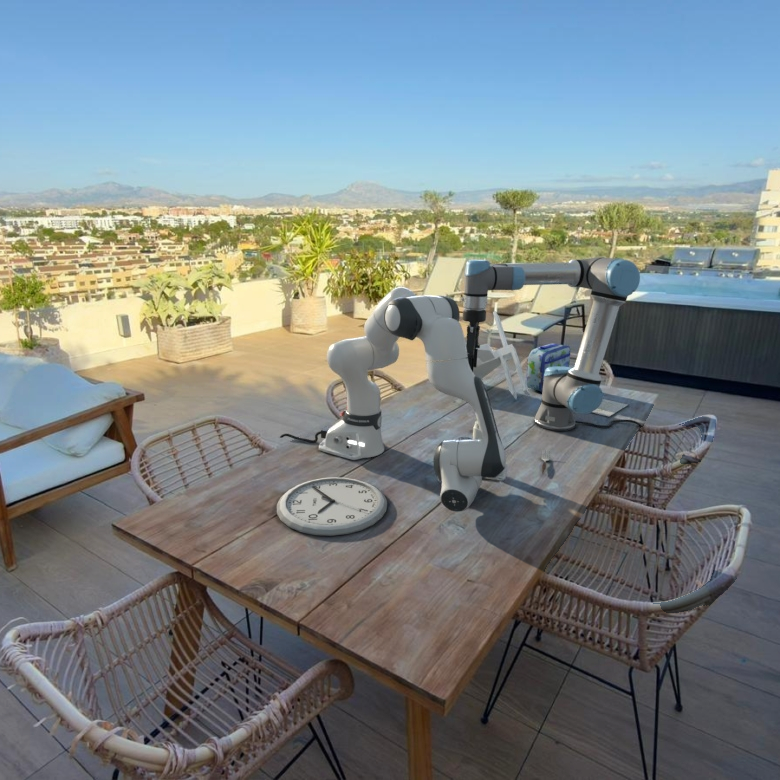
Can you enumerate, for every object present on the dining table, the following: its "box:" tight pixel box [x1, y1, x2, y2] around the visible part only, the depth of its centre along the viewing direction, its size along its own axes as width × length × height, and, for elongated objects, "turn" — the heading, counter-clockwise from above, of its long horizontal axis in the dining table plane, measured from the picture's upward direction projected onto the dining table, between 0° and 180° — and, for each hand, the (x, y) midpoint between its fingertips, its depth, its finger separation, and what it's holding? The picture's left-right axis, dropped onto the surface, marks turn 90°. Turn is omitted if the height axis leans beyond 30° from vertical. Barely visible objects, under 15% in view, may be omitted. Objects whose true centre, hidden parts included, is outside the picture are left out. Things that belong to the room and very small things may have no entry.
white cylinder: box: [472, 420, 482, 439], centre depth 164 cm, size 4×4×16 cm
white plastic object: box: [450, 310, 531, 400], centre depth 245 cm, size 37×45×31 cm
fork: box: [541, 449, 551, 474], centre depth 169 cm, size 3×16×2 cm, turn 160°
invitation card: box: [591, 398, 629, 418], centre depth 226 cm, size 21×1×15 cm
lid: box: [457, 436, 472, 440], centre depth 184 cm, size 5×5×2 cm
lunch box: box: [525, 343, 571, 393], centre depth 249 cm, size 26×11×21 cm, turn 134°
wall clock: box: [276, 476, 388, 537], centre depth 142 cm, size 30×2×30 cm
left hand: (476, 456), depth 160 cm, fingers open, 8 cm apart
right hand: (470, 371), depth 176 cm, fingers open, 13 cm apart
